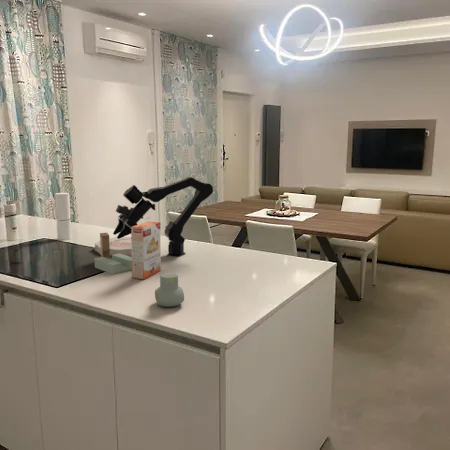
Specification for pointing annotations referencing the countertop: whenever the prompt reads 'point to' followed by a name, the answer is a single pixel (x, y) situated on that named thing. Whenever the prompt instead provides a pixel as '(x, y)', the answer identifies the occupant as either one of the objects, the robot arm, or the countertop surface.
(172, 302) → the air freshener
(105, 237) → the photo frame
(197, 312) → the countertop surface
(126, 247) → the decorative plaque
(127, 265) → the frame stand
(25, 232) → the countertop surface
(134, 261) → the cracker box
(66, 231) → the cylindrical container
